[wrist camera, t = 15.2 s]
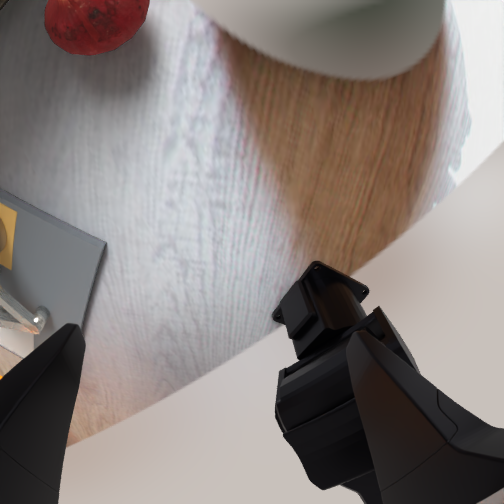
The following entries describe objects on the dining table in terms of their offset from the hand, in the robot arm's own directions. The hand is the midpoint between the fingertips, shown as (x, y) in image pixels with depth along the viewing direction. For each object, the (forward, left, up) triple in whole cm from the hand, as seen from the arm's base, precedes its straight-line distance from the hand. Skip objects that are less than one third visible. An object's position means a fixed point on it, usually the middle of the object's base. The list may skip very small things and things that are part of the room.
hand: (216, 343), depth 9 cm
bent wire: (+13, +17, -12) cm, 24 cm away
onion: (+12, -8, -13) cm, 20 cm away
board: (+13, +17, -13) cm, 25 cm away
